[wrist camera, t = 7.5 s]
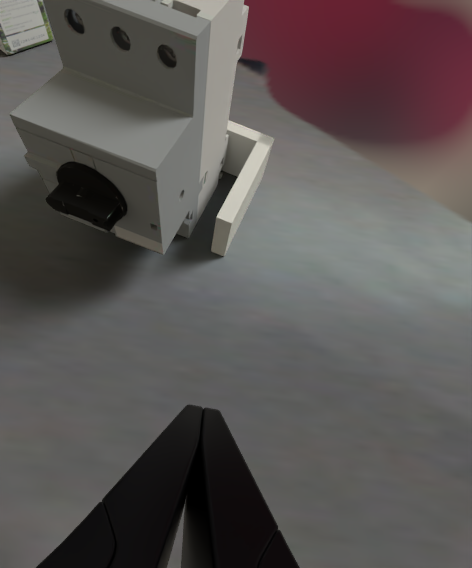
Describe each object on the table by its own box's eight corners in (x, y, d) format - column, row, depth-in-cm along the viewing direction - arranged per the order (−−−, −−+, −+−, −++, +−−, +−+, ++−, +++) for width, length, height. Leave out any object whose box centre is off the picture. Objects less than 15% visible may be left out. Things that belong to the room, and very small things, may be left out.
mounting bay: (224, 256, 26) (231, 223, 22) (68, 192, 27) (48, 148, 23) (262, 177, 31) (274, 138, 27) (130, 124, 32) (122, 78, 28)
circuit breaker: (64, 263, 24) (-78, 39, 11) (150, 148, 31) (129, -75, 18) (155, 299, 24) (125, 117, 11) (222, 176, 31) (254, -29, 17)
